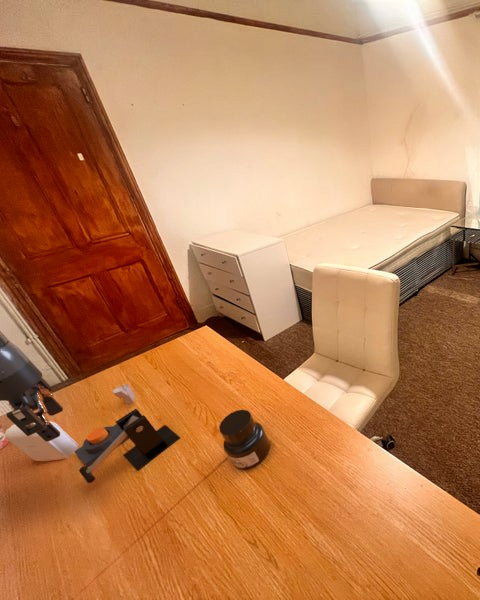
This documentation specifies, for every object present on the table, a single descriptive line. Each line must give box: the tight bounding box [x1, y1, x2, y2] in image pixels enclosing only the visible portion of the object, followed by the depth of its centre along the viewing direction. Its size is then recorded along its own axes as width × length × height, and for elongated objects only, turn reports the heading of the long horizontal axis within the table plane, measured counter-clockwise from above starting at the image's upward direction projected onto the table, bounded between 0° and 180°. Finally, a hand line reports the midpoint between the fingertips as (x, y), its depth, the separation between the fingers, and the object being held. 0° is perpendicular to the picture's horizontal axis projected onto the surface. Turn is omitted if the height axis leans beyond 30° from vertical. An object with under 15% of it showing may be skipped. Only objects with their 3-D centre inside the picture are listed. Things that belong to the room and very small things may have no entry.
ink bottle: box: [218, 409, 271, 470], centre depth 74 cm, size 10×9×12 cm
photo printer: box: [4, 420, 80, 462], centre depth 77 cm, size 10×4×12 cm, turn 90°
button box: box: [74, 423, 130, 468], centre depth 80 cm, size 10×7×4 cm
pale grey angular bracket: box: [112, 384, 136, 405], centre depth 92 cm, size 7×2×8 cm, turn 35°
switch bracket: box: [115, 408, 181, 472], centre depth 76 cm, size 10×8×12 cm
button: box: [86, 427, 109, 445], centre depth 79 cm, size 4×4×2 cm
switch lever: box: [78, 415, 139, 484], centre depth 72 cm, size 14×5×2 cm, turn 148°
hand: (55, 424), depth 66 cm, fingers open, 8 cm apart
